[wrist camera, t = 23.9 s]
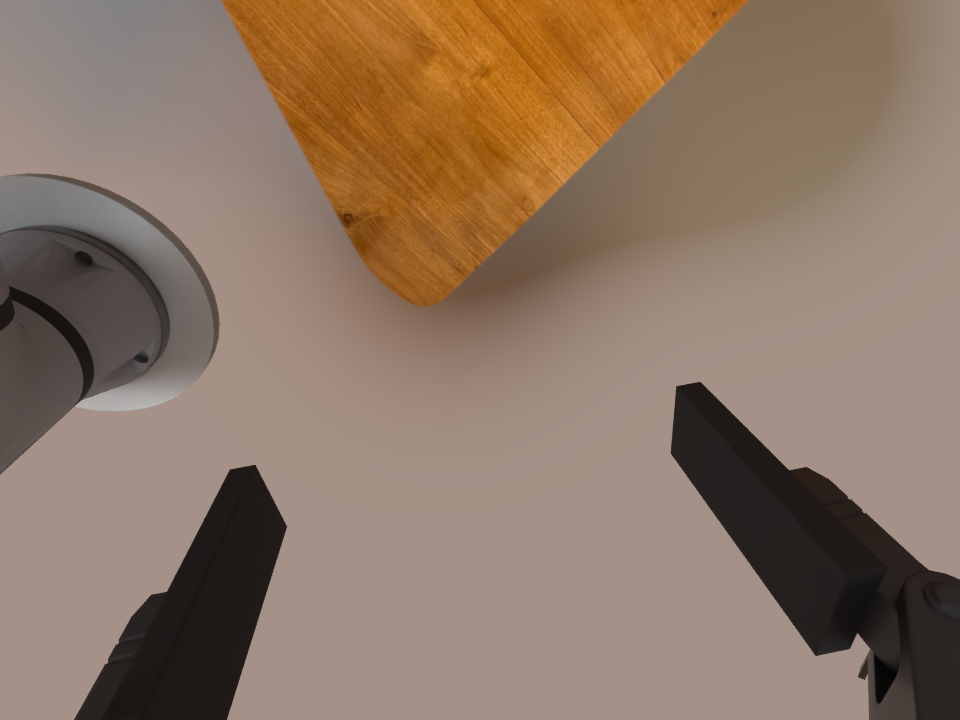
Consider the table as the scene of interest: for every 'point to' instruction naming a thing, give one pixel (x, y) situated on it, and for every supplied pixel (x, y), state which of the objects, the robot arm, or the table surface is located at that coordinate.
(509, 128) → the table surface
